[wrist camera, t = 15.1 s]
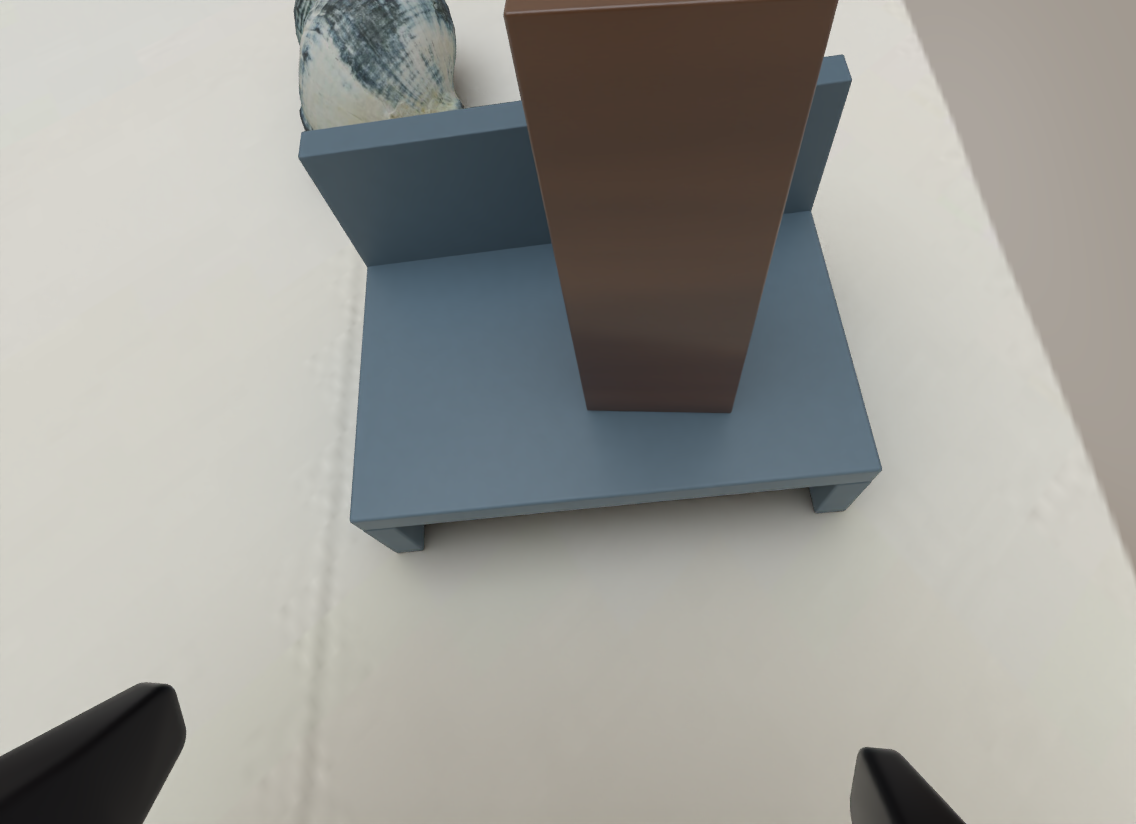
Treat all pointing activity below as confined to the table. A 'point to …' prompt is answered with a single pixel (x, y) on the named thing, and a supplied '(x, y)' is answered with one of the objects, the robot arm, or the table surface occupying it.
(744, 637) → the table surface
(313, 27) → the seashell
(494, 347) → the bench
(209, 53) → the table surface
